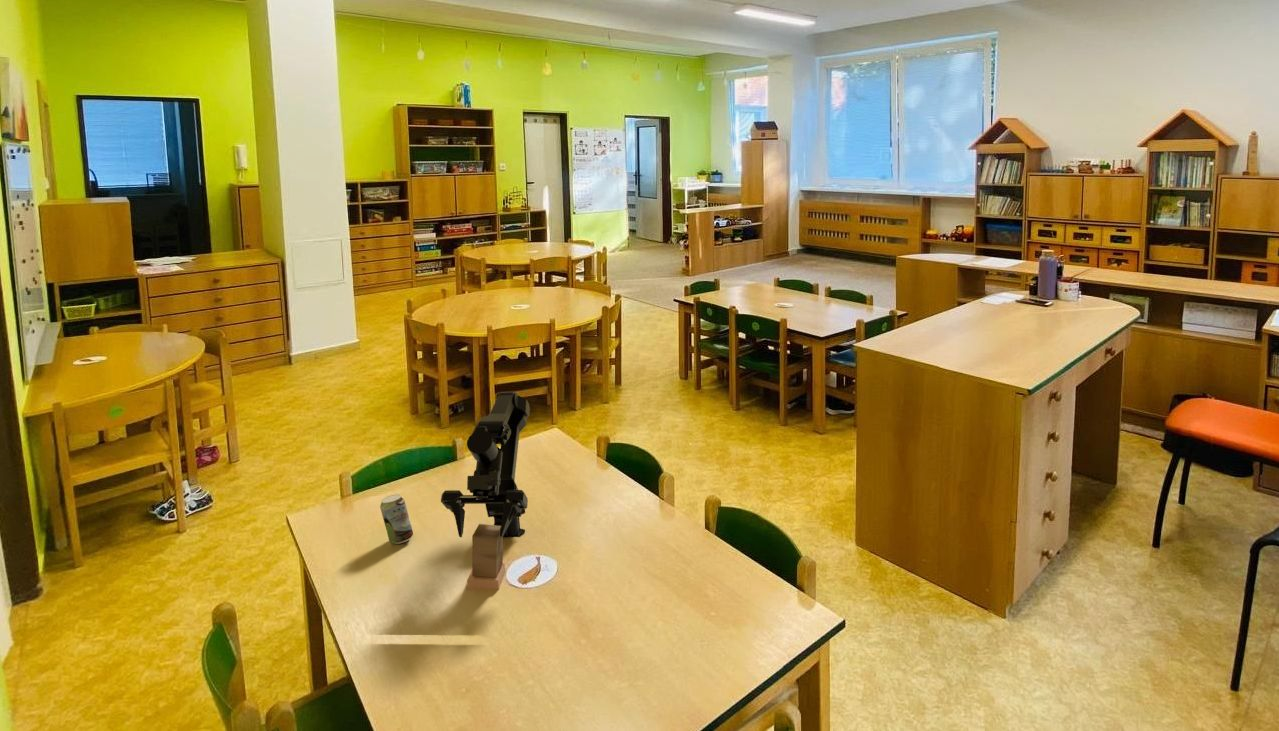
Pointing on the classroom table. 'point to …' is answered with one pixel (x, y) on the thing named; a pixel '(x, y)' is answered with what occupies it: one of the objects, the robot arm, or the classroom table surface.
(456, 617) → the classroom table surface
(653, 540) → the classroom table surface
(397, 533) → the beverage can
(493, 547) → the walnut pillar
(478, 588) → the terracotta tile
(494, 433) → the robot arm
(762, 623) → the classroom table surface
